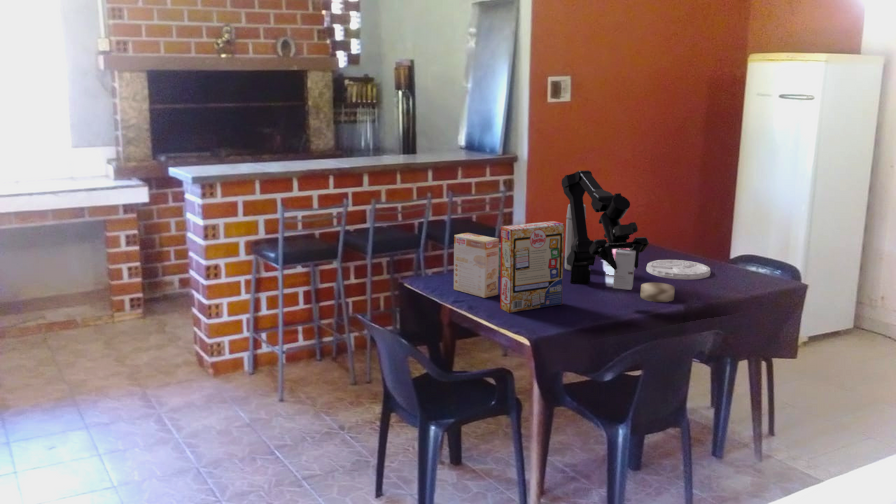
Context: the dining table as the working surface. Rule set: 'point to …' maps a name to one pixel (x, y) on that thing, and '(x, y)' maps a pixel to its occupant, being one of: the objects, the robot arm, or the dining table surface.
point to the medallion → (678, 269)
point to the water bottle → (569, 235)
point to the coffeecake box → (476, 264)
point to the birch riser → (657, 292)
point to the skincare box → (624, 269)
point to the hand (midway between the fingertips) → (626, 268)
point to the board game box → (531, 266)
